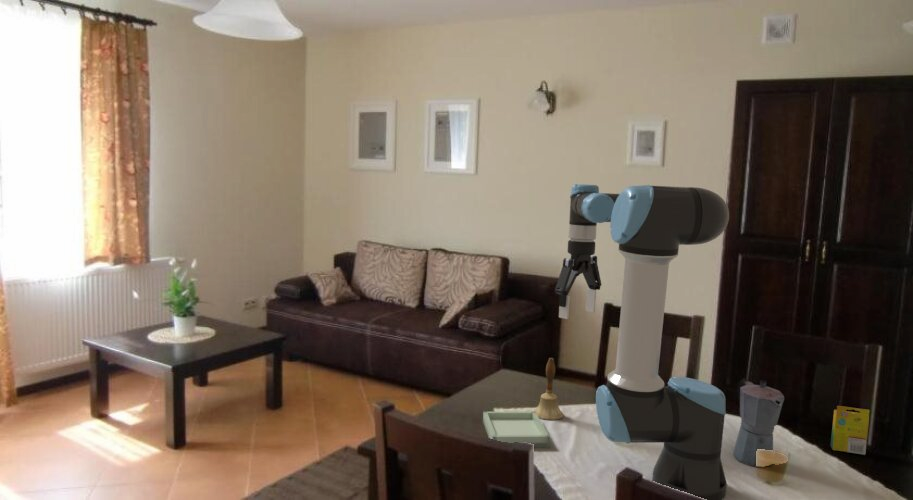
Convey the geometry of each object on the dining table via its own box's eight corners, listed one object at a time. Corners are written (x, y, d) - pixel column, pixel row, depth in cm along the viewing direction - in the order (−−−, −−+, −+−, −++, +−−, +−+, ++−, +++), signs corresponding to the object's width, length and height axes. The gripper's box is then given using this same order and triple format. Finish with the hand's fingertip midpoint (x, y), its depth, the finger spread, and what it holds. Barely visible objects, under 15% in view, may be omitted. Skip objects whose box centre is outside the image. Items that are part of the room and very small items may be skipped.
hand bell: (527, 411, 180) (530, 355, 178) (552, 407, 184) (555, 353, 182) (543, 422, 173) (546, 364, 171) (569, 418, 176) (572, 361, 174)
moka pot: (757, 475, 146) (765, 390, 144) (713, 446, 161) (720, 369, 159) (791, 471, 149) (801, 388, 146) (745, 443, 164) (753, 367, 161)
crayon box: (862, 450, 162) (868, 406, 161) (865, 455, 159) (871, 410, 158) (829, 445, 165) (834, 401, 163) (831, 450, 162) (837, 405, 160)
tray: (548, 447, 157) (549, 436, 157) (492, 447, 155) (492, 436, 155) (534, 421, 173) (534, 411, 172) (482, 421, 171) (483, 411, 171)
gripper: (593, 236, 191) (589, 306, 193) (544, 241, 173) (540, 318, 175) (616, 239, 186) (611, 311, 188) (568, 243, 168) (563, 323, 170)
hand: (577, 314), depth 182 cm, fingers open, 13 cm apart
